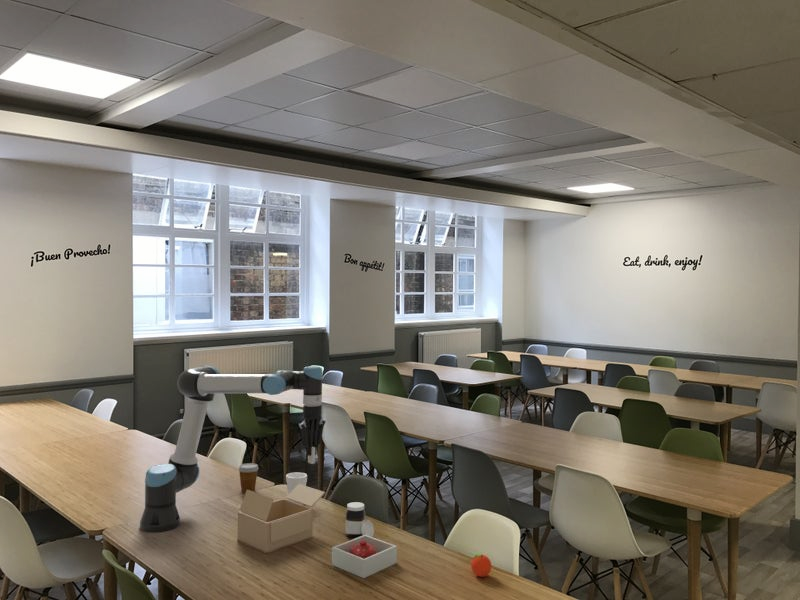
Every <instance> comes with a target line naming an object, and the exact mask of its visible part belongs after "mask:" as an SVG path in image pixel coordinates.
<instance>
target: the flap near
mask: <svg viewBox="0 0 800 600" xmlns="http://www.w3.org/2000/svg"><path fill="white" fill-rule="evenodd" d="M274 501H275V499H274V497H273V498H272V497H269V496H268V495H267V496H266V495H264V494H261V493H258V492H255V491H250V490H247V491H246V492H245V494H244V497H243V499H242V503H241V505H240V507H239V509H238V512H239V511H242V512H244V513H247V514H250V515H252V516H255V517H257V518H260V519H262V520H265V521H266V520H267V517H268V514H269V512H270V509H271V506H272V503H273V502H274Z"/></svg>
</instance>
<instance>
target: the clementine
mask: <svg viewBox="0 0 800 600" xmlns="http://www.w3.org/2000/svg"><path fill="white" fill-rule="evenodd" d="M471 558H472V559H471ZM470 559H471V563H470V567H471V571H472V572H473V574H475V575H476V576H477V577H482V578H483V577H486V576H487V575H489V574H490V573H491V571H492V562H491V560H490V558H489V557H488V556H487V555H485V554H478V553H477V554H473V555H471V556H470V557H469V558H468V560H470Z"/></svg>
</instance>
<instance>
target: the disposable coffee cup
mask: <svg viewBox="0 0 800 600" xmlns="http://www.w3.org/2000/svg"><path fill="white" fill-rule="evenodd" d="M238 471H239V478H240V479H239V480H240V489H241V492H242V493H246V491H247V490H250V491H253V492H255V491H256V484H257V478H258V477H257V476H258V471H259V466H258V464H257V463H254V462H253V463H250V462H249V463H242V464H240V465H239V466H238Z"/></svg>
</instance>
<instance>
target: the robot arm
mask: <svg viewBox="0 0 800 600" xmlns="http://www.w3.org/2000/svg"><path fill="white" fill-rule="evenodd" d="M323 379H324V378H323V369H322V367H320V366H315V365H314V366H305V367H303V370H301V371H299V370H287V369H283V370H277V371H276V372H275V373H267V374H266V373H265V374H264V373H263V374H262V373H260V374H259V373H257V374H256V373H255V374H254V373H252V374H251V373H249V374H248V373H247V374H246V373H245V374H241V373H240V374H239V373H237V374H235V373H234V374H232V373H231V374H230V373H229V374H227V373H226V374H225V373H223V374H221V373H220V371H219V369H217V368H216V367H215V366H210V365H201V366H198V367H194V368H188V369H185V370H183V371H182V373H180V374H179V376H178V378H177V382H176V383H177V390H179V393H180V394H182V395H183V396H185V398H186V399H187V401H186V406H185V410H184V412H183V413H184V414H183V418H182V420H181V421H182V422H181V426H180V430H179V434H178V438H177V442H176V446H175V450H174V453H172V454H170V456H169V458H168V463H160V464H158V465H153V466H151V467H150V468H148V469H147V471H146V472H145V477H144V479H145V480H144V485H145V487H144V489H145V490H144V510H143V512H142V514H141V518H140V521H139V529H140V530H141V531H144V532H150V533H157V532H164V531H171V530H172V529H176V528H177V527H178V526H180V524H181V517H180V513H179V512H178V511H179V510H178V508H177V504H176V502H177V501H176V499H177V497H176V496H177V493H179V492H181V491H184V490H185V489H187V488H189V487H191V486H192V485H194V483H196V481H197V480H198V478H199V477H200V476H199V475H200V467H199V464H198V460H199V459H198V458H197V457H196V454H197V450H198V447H199V442H200V438H201V436H202V430H203V427H204V422H205V418H206V415H207V410H208V406H209V404H210V403H211V402H213V400H214V398H215V394H267V395H269V396H274V395H276V396H277V395H280V394H282V393H285V392H287V391H290V390H300V391H303V392H302V393H303V396H302V397H303V398H302V404H303V406H302V414H303V418H302V422H301V423H300V422H299V423H298V425H297V426H298V428H299V431H300V436H301V442H302V446H303V447H306V456H307V463H308V464H310V465H313V464H316V454H317V448H319V445H321V442H322V437H323V431H324V426H325V424H326V421H327V420H324V419H322V416H321V415H322V412H323V411H322V409H323V407H322V402H323V399H322V398H323Z"/></svg>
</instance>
